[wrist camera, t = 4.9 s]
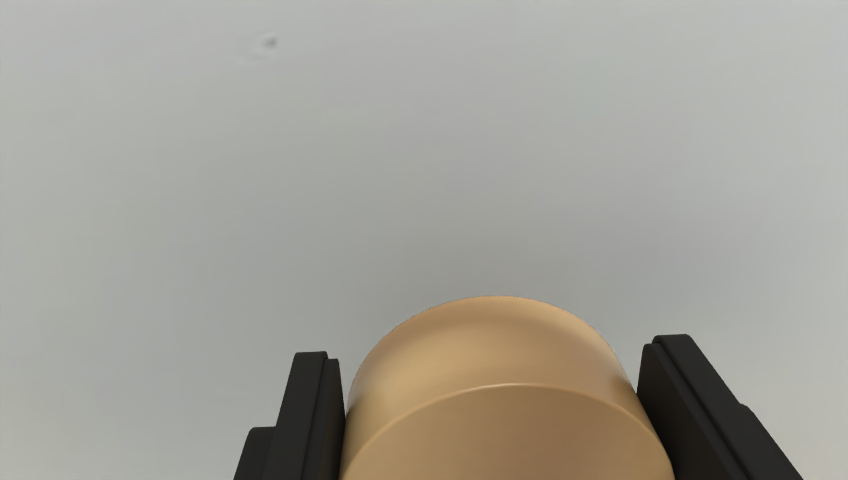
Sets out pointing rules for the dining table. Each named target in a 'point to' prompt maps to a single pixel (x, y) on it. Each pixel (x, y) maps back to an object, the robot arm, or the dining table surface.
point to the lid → (497, 400)
